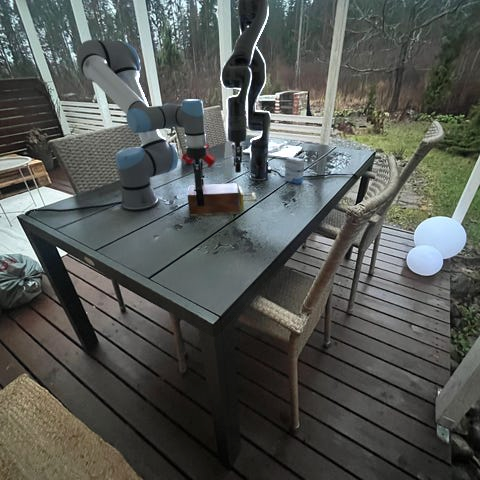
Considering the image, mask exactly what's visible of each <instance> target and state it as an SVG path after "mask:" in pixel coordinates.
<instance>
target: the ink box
mask: <svg viewBox="0 0 480 480" xmlns="http://www.w3.org/2000/svg"><path fill="white" fill-rule="evenodd" d="M305 162H306V159H304V158H299V157H296V156H294V157H289V158H287V159H286V158H285V169H284V176H285V178H284V181H285V182H289V183H293V184H295V185H298V184H300V183H302V182H303V180H304V178H303V176H304V173H305V171H304V170H305Z"/></svg>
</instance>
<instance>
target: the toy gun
mask: <svg viewBox="0 0 480 480" xmlns="http://www.w3.org/2000/svg"><path fill="white" fill-rule="evenodd" d="M205 146H206V150H207V156H206V157H205V158H201V160H203V162H205V163H206V164H207V165H208V167H210V166H212V165H214V164H215V163H216V162H215V161H216V158H215V156H213V155H212V154H210V153H209V152H208V149H209V148H210V145H209V144H208V142H207V141H206V145H205ZM181 158H182V159H183V161H184V162H185V164H186V165H189V164H192V163H193V161H194V159H191V158H188V157H187V151H186V152H185V153H184V154H183V155H181Z"/></svg>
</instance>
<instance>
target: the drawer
mask: <svg viewBox="0 0 480 480" xmlns="http://www.w3.org/2000/svg"><path fill="white" fill-rule="evenodd" d="M237 188H238V192H239V211H240V212H243V211H244V202H254V203H256V202H258V197H257V196H256V193H255V192H252V193H244V192H243V188H242V185H237ZM249 196H250V197H252V198H247V199H245V198H244V197H249Z"/></svg>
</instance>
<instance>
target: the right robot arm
mask: <svg viewBox="0 0 480 480" xmlns="http://www.w3.org/2000/svg"><path fill="white" fill-rule="evenodd" d="M237 15H238V16H237V18H238V23H239V24H238V25H239V31H240V35H239V36H238V37H237V38H236V41H235V43H234V47H233V50H232V53H231V55H230V57H229V58H228V59H227V61H225V63H224V65H223V67H222V70H221V72H220V81H221V82H220V83H221V84H222V87H224V88H225V89H229V90H230V89H231V90H232V89H233V90H234V89H236V90H239V91H238V94H236V95H232V96H229V97H228V98H227V99H226V109H227V110H226V111H227V113H226V114H227V115H226V138H227V141H228V142H231V143H232V144H231V153H232V157H233V166H234V172H235V173H236V174H238V173H241V171H242V162H243V159H242V158H243V145H242V144H241V143H242V142H246V141H247V139H248V138H247V133H248V131H247V128H248V130H249V131H251V132H260V135H259V136H257V137H254V138H251V139H250V146H251V148H250V154H249V157H250V158H249V160H250V161H249V165H250V166H249V167H250V168H249V178H250V180H253V181H256V182H257V181H265V180H268V179H269V174H272V172H273V173H275V174H277V175H278V176H279V177H280V178H283V179H285V175H282V174H281V173H280V172H279V171H277V170H276V169H272V167H271V166H270V165H269V156H268V145H269V139H270V132H271V125H272V124H271V123H272V117H271V112H270V111H267V110H265V111H264V110H257V109H256V108H257V107H256V106H257V102H258V99H259V96H260V94H261V92H262V91H263V88H264V87H265V84H266V81H267V73H266V69H267V68H266V67H267V66H266V61H265V59H264V57H263V55H262V53H261V52H260V50H259V49H258V46H256V45H257V42H258V41H259V38H260V36H261V34H262V32H263V30H264V28H265V25H266V24H267V20H268V17H269V1H268V0H237ZM327 174H328V175H323V174H316V175H317V176H312V175H303V179H304V178H319V177H328V176H348V175H351V176H354V177H357V174H355V175H353V174H337V173H327Z"/></svg>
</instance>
